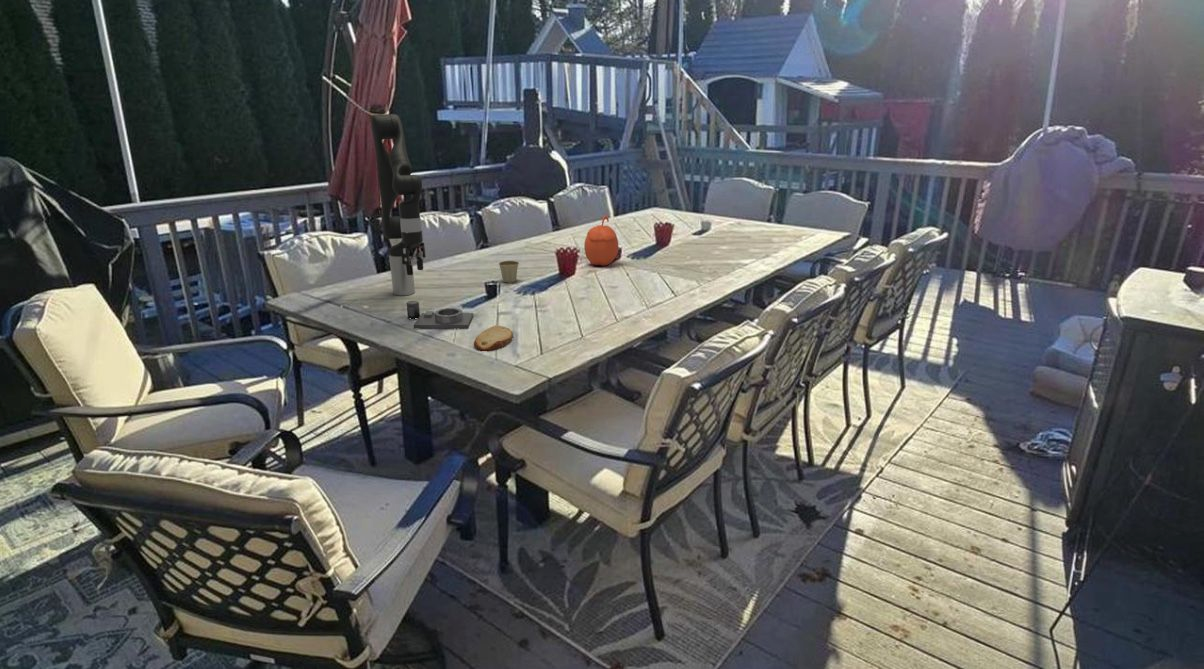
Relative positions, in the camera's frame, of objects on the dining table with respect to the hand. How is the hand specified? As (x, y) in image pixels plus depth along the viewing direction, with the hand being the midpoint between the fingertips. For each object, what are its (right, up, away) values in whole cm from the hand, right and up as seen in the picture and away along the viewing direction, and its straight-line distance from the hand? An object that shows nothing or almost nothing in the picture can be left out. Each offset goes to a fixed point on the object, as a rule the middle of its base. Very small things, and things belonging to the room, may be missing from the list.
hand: (415, 272), depth 248 cm
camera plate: (+11, -19, +1) cm, 22 cm away
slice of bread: (+32, -26, -16) cm, 45 cm away
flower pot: (+28, +1, +56) cm, 62 cm away
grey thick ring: (+13, -18, -1) cm, 22 cm away
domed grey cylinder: (-2, -17, +6) cm, 18 cm away
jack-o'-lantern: (+71, +12, +86) cm, 112 cm away
